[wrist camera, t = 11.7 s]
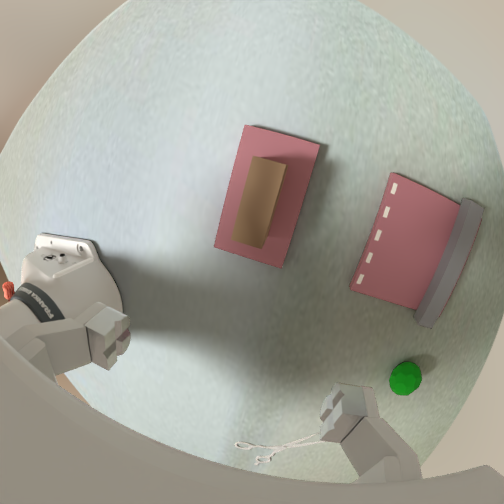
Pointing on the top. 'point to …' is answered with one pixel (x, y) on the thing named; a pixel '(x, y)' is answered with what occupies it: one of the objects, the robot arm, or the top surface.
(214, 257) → the top surface
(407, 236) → the ticket
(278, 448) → the scissors
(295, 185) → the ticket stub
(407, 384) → the polyhedron
